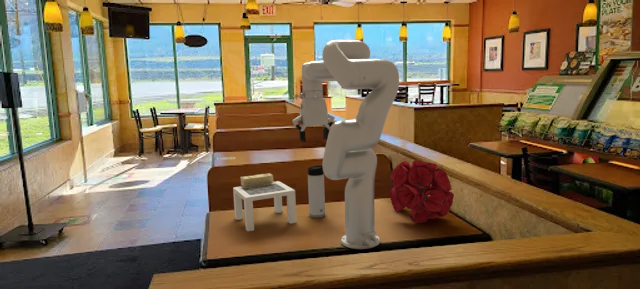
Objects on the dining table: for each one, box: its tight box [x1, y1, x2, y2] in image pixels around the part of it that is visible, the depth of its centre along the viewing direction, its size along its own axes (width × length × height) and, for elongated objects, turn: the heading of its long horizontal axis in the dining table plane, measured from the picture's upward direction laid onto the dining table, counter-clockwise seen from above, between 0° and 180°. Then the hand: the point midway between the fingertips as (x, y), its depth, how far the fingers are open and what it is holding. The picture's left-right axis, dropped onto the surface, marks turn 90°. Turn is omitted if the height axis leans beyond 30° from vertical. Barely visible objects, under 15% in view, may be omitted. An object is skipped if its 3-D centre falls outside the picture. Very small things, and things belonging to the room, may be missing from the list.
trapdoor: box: [240, 172, 284, 195], centre depth 171 cm, size 16×13×4 cm
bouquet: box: [389, 160, 455, 224], centre depth 166 cm, size 22×24×30 cm
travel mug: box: [307, 164, 326, 219], centre depth 173 cm, size 6×7×20 cm
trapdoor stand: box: [232, 180, 298, 232], centre depth 170 cm, size 18×19×12 cm
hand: (314, 140), depth 170 cm, fingers open, 9 cm apart
